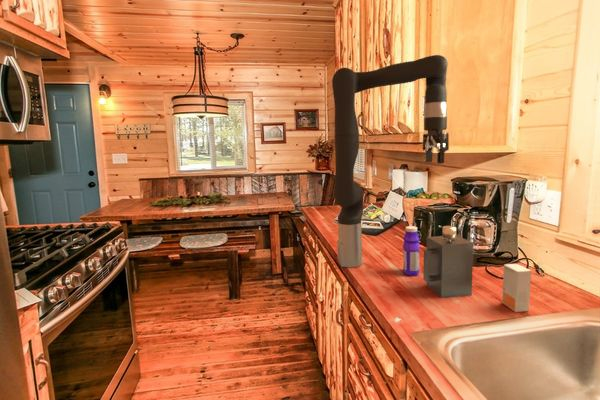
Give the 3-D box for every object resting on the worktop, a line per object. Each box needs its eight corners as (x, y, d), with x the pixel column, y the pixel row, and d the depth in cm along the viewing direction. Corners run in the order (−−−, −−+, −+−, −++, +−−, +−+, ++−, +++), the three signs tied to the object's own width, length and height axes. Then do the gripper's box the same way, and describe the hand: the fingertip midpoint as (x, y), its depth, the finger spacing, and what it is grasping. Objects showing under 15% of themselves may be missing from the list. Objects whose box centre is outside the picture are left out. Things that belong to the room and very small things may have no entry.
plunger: (442, 291, 112) (444, 231, 109) (430, 281, 120) (431, 225, 117) (466, 289, 113) (468, 229, 110) (453, 279, 120) (454, 223, 117)
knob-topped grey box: (432, 298, 110) (432, 246, 108) (417, 286, 120) (418, 237, 118) (471, 295, 112) (473, 242, 109) (454, 282, 122) (455, 234, 119)
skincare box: (501, 303, 106) (503, 264, 104) (515, 302, 106) (517, 263, 104) (515, 312, 100) (517, 271, 98) (529, 311, 100) (532, 270, 98)
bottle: (420, 277, 128) (420, 229, 126) (403, 276, 130) (404, 229, 127) (418, 269, 135) (418, 224, 133) (402, 269, 137) (402, 224, 134)
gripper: (416, 118, 132) (415, 162, 135) (435, 115, 118) (434, 164, 121) (435, 117, 133) (434, 161, 136) (456, 114, 119) (455, 163, 122)
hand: (434, 162), depth 128 cm, fingers open, 8 cm apart
